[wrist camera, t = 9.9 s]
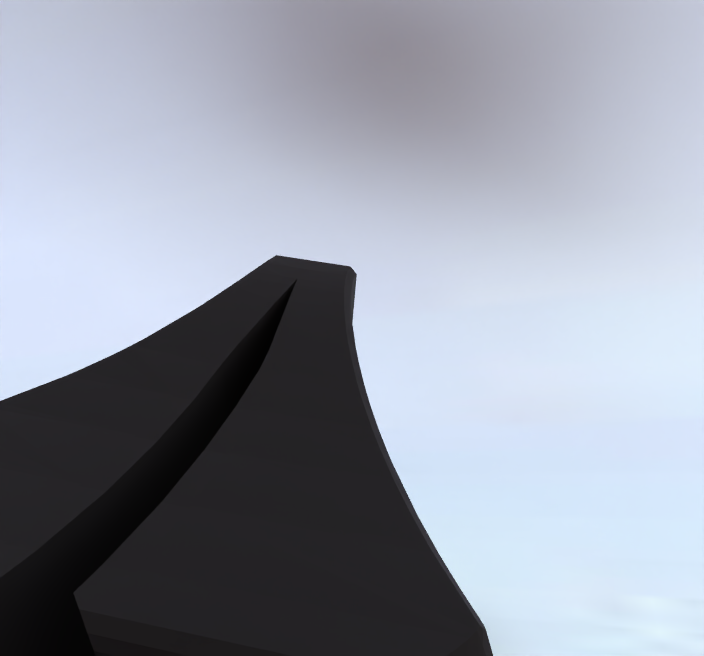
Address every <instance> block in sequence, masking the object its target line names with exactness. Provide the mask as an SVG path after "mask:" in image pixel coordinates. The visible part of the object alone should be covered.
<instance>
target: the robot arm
mask: <svg viewBox="0 0 704 656" xmlns="http://www.w3.org/2000/svg"><path fill="white" fill-rule="evenodd" d="M356 275H357V274H356V273H355V272H354V270H353V269H352V268H351V267H350V266H343V265H337V264H330V263H323V262H317V261H310V260H304V259H297V258H290V257H284V256H277V255H276V256H275V257H273V258H271V259H270V260H268V261H267V262H265V263H264V264H262V265H261V266H259V267H258V268H256V269H255V270H253V271H252V272H250V273H249V274H248V275H246V276H245V277H243V278H242V279H240V280H239V281H237V282H236V283H234V284H233V285H231V286H230V287H228V288H227V289H225V290H224V291H222V292H221V293H219V294H218V295H216V296H215V297H213V298H212V299H210V300H209V301H207V302H206V303H204V304H203V305H201V306H200V307H198V308H196V309H195V310H193V311H191V312H190V313H188V314H186V315H184V316H183V317H181V318H179V319H178V320H176V321H174V322H172V323H171V324H169V325H167V326H166V327H164V328H162V329H160V330H159V331H157V332H155V333H153V334H152V335H150V336H148V337H147V338H145V339H143V340H141V341H139V342H137V343H135V344H133V345H132V346H130V347H128V348H126V349H124V350H122V351H120V352H118V353H116V354H114V355H111V356H109V357H107V358H105V359H103V360H101V361H98V362H96V363H94V364H92V365H90V366H88V367H85V368H83V369H81V370H79V371H76V372H74V373H72V374H69V375H67V376H65V377H62V378H59V379H57V380H54V381H51V382H49V383H46V384H44V385H41V386H38V387H36V388H33V389H31V390H28V391H25V392H23V393H20V394H17V395H15V396H12V397H10V398H7V399H4V400H2V401H0V656H493V654H492V650H491V646H490V643H489V639H488V636H487V632H486V629H485V627H484V625H483V623H482V622H481V620H480V618H479V617H478V615H477V614H476V612H475V611H474V609H473V608H472V606H471V605H470V603H469V602H468V600H467V598H466V597H465V595H464V594H463V592H462V591H461V589H460V588H459V586H458V584H457V583H456V581H455V580H454V578H453V576H452V575H451V573H450V571H449V570H448V568H447V566H446V565H445V563H444V562H443V560H442V558H441V557H440V555H439V553H438V551H437V550H436V548H435V546H434V544H433V542H432V541H431V539H430V537H429V535H428V533H427V532H426V530H425V528H424V526H423V525H422V523H421V521H420V519H419V517H418V516H417V514H416V512H415V509H414V507H413V505H412V503H411V501H410V499H409V497H408V495H407V493H406V491H405V489H404V487H403V484H402V482H401V480H400V478H399V476H398V474H397V472H396V470H395V468H394V466H393V464H392V462H391V459H390V457H389V454H388V452H387V449H386V447H385V444H384V442H383V439H382V437H381V434H380V432H379V429H378V426H377V423H376V421H375V418H374V415H373V412H372V409H371V406H370V403H369V400H368V396H367V393H366V389H365V386H364V382H363V378H362V374H361V370H360V366H359V362H358V357H357V352H356V346H355V339H354V332H353V326H352V320H353V309H354V298H355V286H356Z"/></svg>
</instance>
